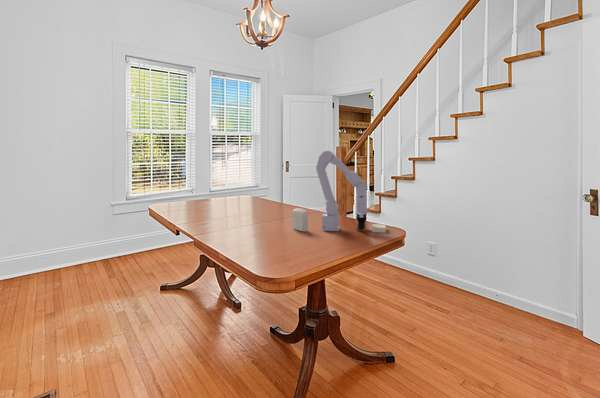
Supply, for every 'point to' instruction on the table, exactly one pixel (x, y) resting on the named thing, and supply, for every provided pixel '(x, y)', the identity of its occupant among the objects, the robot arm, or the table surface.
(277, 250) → the table surface
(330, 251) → the table surface
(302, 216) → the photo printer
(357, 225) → the walnut cube
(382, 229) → the cream block
